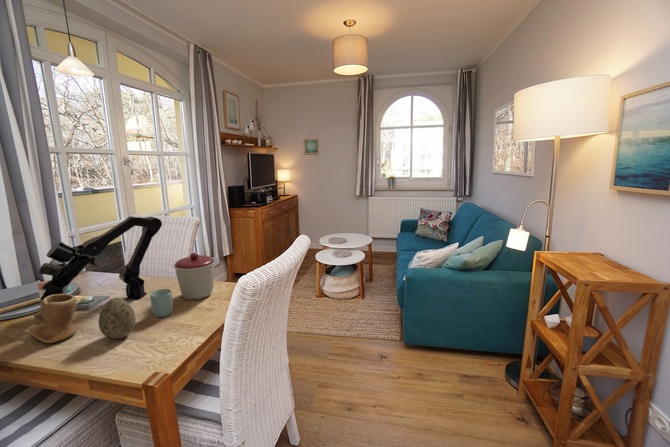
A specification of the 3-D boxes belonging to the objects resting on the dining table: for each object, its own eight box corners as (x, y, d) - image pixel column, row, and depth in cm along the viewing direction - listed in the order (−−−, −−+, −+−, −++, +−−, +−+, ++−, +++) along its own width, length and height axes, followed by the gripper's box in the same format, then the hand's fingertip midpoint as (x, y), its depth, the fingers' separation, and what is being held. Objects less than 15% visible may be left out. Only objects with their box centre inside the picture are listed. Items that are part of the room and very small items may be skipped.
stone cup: (87, 332, 114) (81, 295, 111) (46, 349, 103) (37, 308, 100) (68, 321, 121) (62, 286, 118) (28, 336, 110) (20, 298, 107)
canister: (172, 294, 146) (167, 252, 142) (210, 284, 158) (207, 245, 153) (182, 307, 133) (177, 262, 128) (223, 296, 144) (220, 253, 140)
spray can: (62, 299, 140) (54, 257, 136) (53, 298, 141) (45, 256, 137) (74, 294, 145) (67, 254, 141) (65, 293, 146) (58, 253, 142)
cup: (176, 314, 127) (174, 292, 125) (156, 321, 121) (153, 298, 119) (169, 308, 132) (167, 287, 130) (149, 315, 126) (147, 292, 124)
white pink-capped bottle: (61, 307, 126) (56, 280, 123) (51, 313, 121) (45, 285, 119) (50, 307, 126) (44, 280, 123) (39, 313, 121) (33, 285, 119)
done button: (94, 299, 135) (94, 296, 135) (87, 303, 131) (87, 300, 131) (85, 299, 135) (85, 296, 135) (78, 303, 131) (77, 300, 131)
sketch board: (109, 297, 142) (108, 293, 142) (89, 309, 130) (88, 305, 130) (75, 297, 142) (74, 293, 142) (51, 309, 130) (50, 305, 130)
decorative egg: (128, 325, 118) (123, 289, 115) (143, 334, 113) (138, 296, 110) (95, 339, 109) (89, 300, 106) (110, 349, 104) (104, 308, 101)
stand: (68, 313, 127) (66, 306, 127) (52, 321, 121) (51, 314, 120) (51, 313, 127) (49, 306, 127) (35, 321, 121) (33, 314, 120)
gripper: (60, 250, 129) (30, 279, 126) (45, 263, 113) (10, 296, 110) (87, 264, 134) (58, 293, 131) (75, 279, 118) (43, 312, 115)
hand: (43, 298), depth 122 cm, fingers closed on white pink-capped bottle, 4 cm apart
